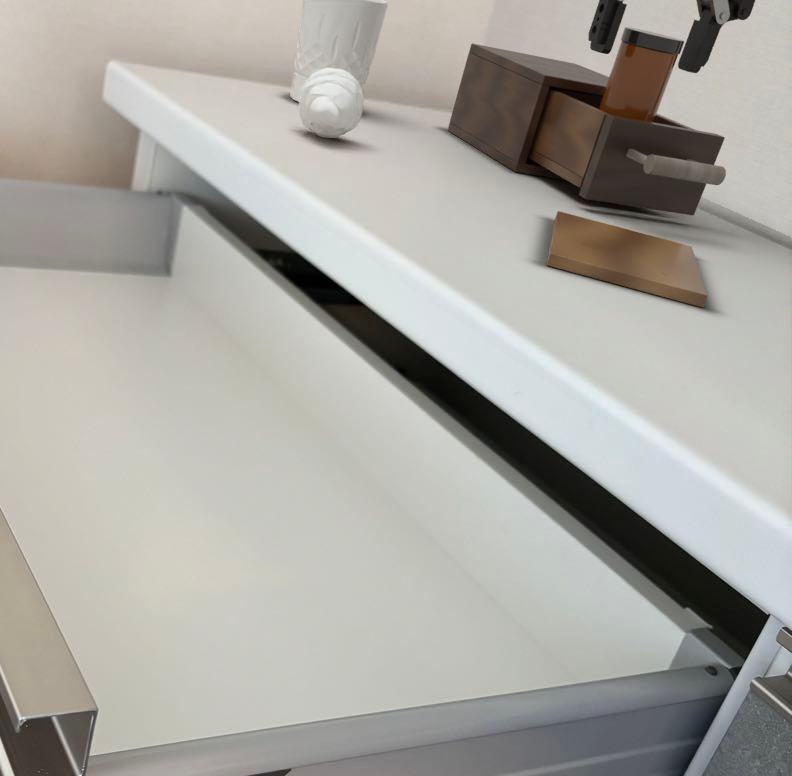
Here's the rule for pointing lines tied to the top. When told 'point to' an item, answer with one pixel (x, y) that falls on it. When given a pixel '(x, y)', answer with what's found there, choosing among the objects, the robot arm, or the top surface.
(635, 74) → the spice jar
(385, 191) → the top surface
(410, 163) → the top surface
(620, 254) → the cork mat
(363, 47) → the white tapered cylinder
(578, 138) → the drawer
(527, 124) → the cabinet
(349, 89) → the garlic bulb
